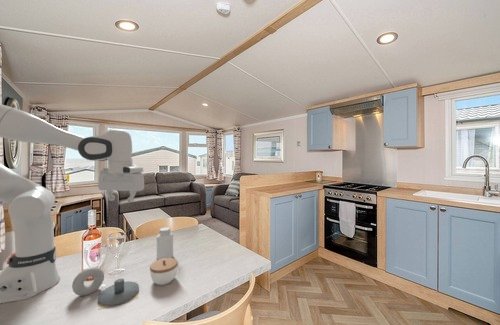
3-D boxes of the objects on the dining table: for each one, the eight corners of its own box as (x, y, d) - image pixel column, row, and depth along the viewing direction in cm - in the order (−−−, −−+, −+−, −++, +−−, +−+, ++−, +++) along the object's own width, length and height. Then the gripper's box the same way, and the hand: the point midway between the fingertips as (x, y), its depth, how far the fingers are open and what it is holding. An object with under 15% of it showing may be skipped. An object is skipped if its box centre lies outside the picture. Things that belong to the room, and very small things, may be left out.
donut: (102, 286, 87) (102, 261, 86) (105, 289, 85) (105, 264, 84) (71, 298, 79) (70, 272, 79) (73, 302, 77) (73, 275, 77)
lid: (96, 311, 72) (96, 296, 72) (100, 290, 83) (99, 277, 83) (139, 298, 79) (139, 284, 78) (137, 280, 90) (137, 268, 90)
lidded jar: (144, 286, 86) (143, 264, 86) (162, 273, 97) (162, 252, 96) (166, 292, 83) (166, 268, 83) (182, 277, 93) (182, 255, 93)
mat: (98, 311, 73) (98, 309, 73) (101, 291, 83) (101, 290, 83) (138, 299, 79) (138, 297, 79) (136, 282, 89) (136, 281, 89)
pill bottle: (162, 262, 106) (161, 232, 106) (153, 257, 111) (153, 229, 111) (176, 256, 112) (176, 228, 112) (167, 252, 117) (167, 225, 117)
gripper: (93, 168, 89) (94, 201, 90) (135, 169, 85) (136, 203, 85) (106, 167, 95) (107, 198, 96) (146, 168, 91) (147, 200, 91)
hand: (121, 201), depth 90 cm, fingers open, 8 cm apart
